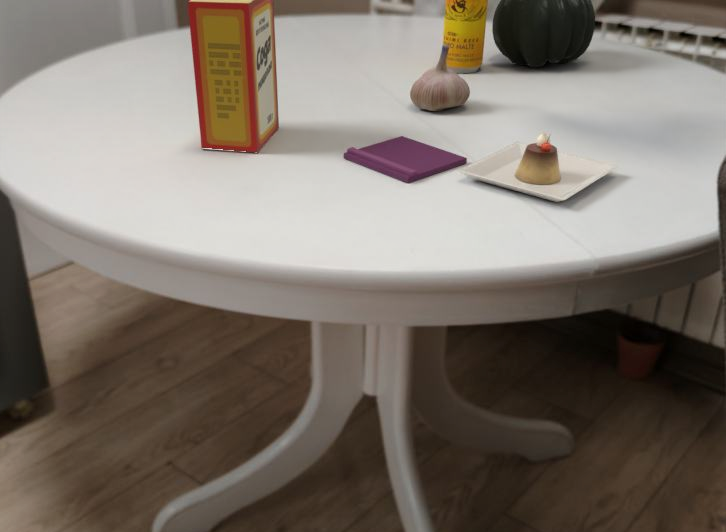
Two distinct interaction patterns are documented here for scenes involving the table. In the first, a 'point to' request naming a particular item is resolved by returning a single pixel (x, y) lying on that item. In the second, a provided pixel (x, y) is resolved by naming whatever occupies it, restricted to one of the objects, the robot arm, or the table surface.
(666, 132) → the table surface
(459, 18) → the beer can
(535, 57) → the squash
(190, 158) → the table surface
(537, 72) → the table surface
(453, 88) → the garlic bulb
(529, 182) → the dessert
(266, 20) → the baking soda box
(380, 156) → the purple flat slab
